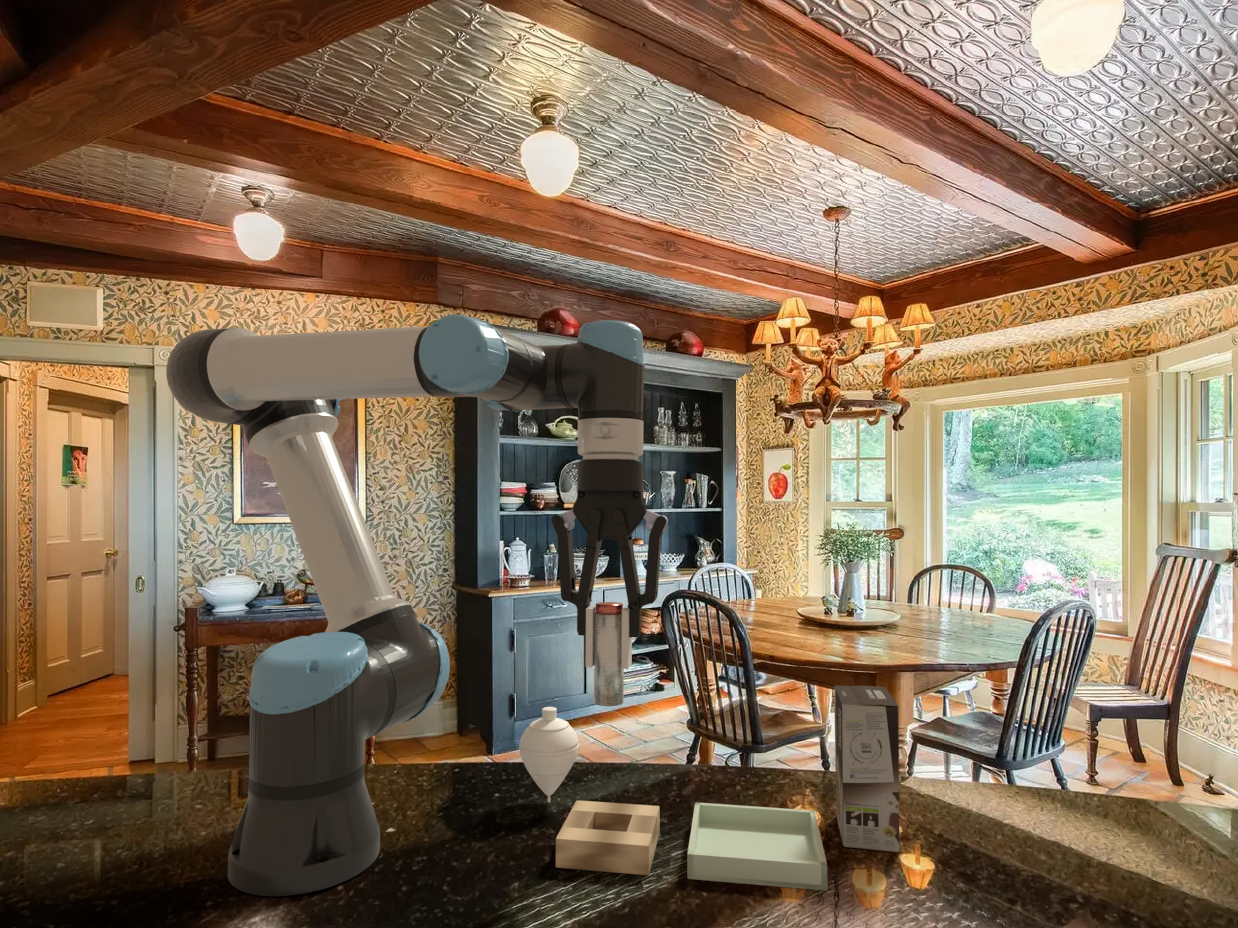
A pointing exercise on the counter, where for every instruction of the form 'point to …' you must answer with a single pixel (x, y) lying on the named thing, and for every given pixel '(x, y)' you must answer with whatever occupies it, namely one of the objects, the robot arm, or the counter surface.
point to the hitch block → (609, 837)
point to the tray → (756, 846)
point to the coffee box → (867, 767)
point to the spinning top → (549, 750)
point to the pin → (608, 654)
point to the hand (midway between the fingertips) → (608, 664)
